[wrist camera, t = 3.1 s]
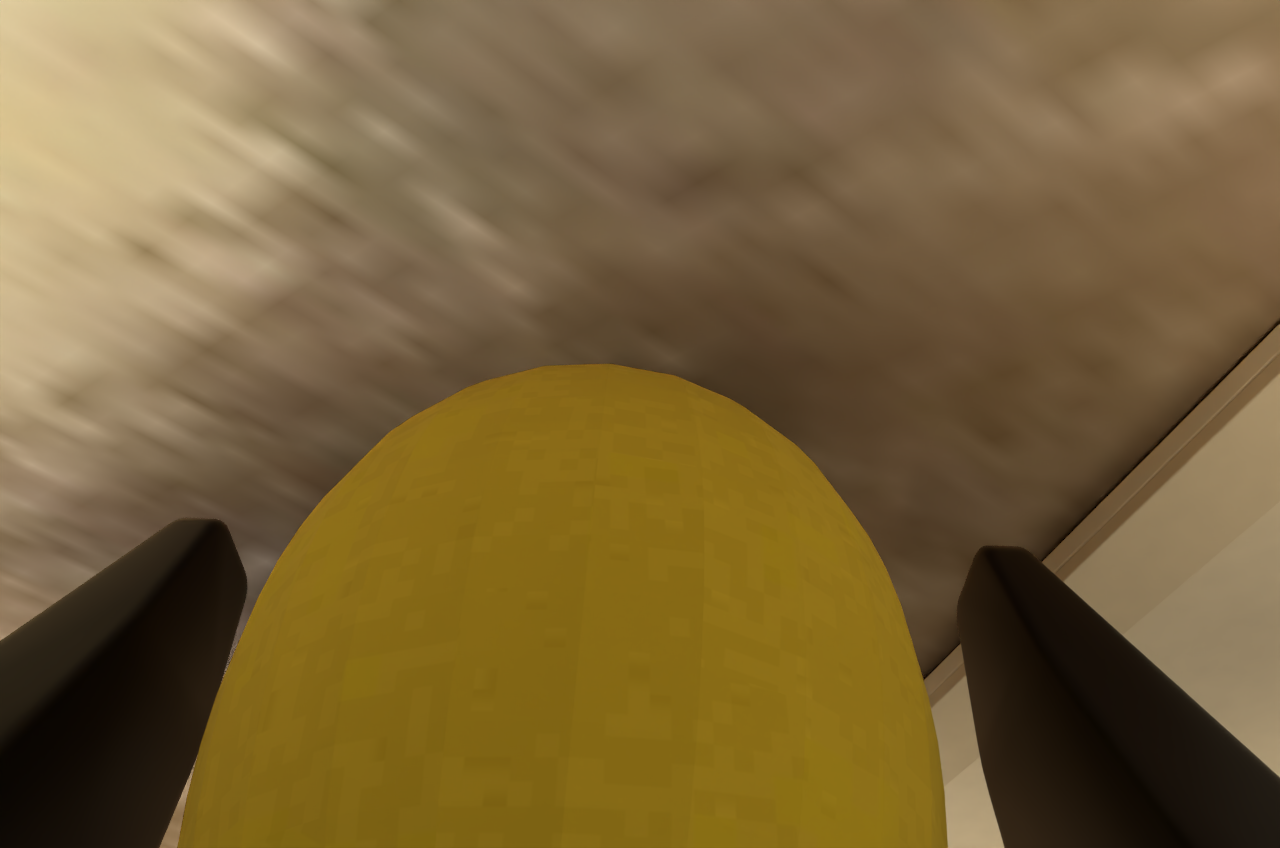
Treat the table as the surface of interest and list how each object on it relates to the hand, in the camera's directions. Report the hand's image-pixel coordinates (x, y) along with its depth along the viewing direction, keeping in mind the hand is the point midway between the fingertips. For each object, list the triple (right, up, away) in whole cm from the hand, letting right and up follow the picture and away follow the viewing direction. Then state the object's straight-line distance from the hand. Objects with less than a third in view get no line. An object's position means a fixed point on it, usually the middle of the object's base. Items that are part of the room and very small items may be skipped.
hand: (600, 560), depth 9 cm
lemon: (0, +1, +2) cm, 2 cm away
